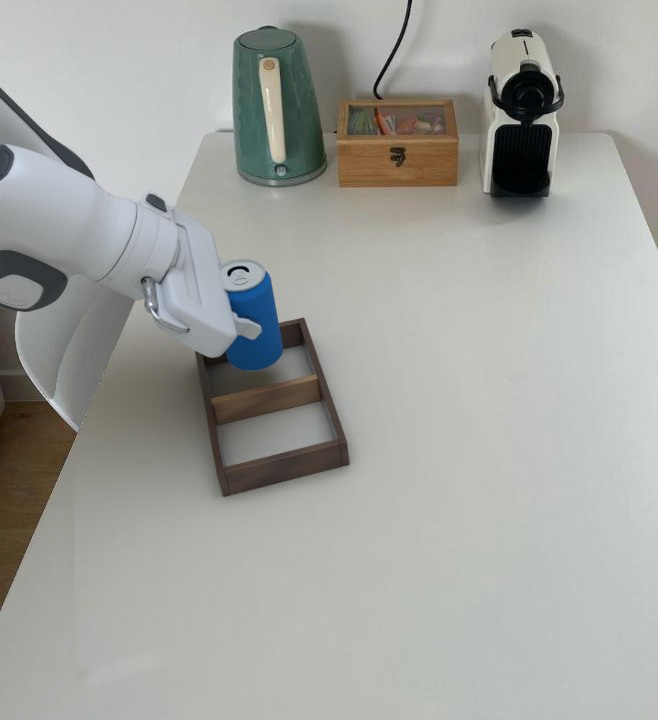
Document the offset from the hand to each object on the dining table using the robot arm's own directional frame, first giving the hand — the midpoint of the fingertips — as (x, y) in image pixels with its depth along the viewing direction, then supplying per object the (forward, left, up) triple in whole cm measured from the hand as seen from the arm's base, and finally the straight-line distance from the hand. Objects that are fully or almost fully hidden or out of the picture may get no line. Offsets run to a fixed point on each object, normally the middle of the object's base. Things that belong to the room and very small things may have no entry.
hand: (251, 309), depth 90 cm
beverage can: (-1, 0, -7) cm, 7 cm away
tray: (-1, -5, -11) cm, 12 cm away
